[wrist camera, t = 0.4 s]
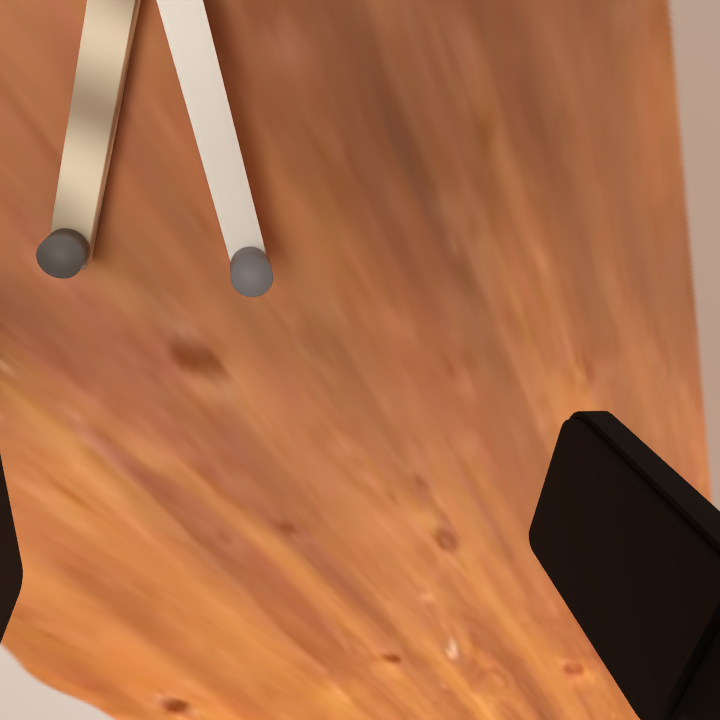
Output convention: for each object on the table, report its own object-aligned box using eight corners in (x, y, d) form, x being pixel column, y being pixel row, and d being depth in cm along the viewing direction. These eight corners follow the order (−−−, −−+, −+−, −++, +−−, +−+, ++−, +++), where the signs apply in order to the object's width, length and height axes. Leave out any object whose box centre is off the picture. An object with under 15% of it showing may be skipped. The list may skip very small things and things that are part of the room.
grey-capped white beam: (116, -203, 26) (90, -271, 21) (184, -167, 27) (175, -223, 22) (45, 248, 34) (12, 282, 28) (100, 263, 35) (78, 298, 29)
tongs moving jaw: (128, -101, 26) (114, -127, 22) (178, -109, 26) (171, -136, 22) (235, 277, 34) (236, 301, 31) (271, 268, 35) (277, 291, 31)
